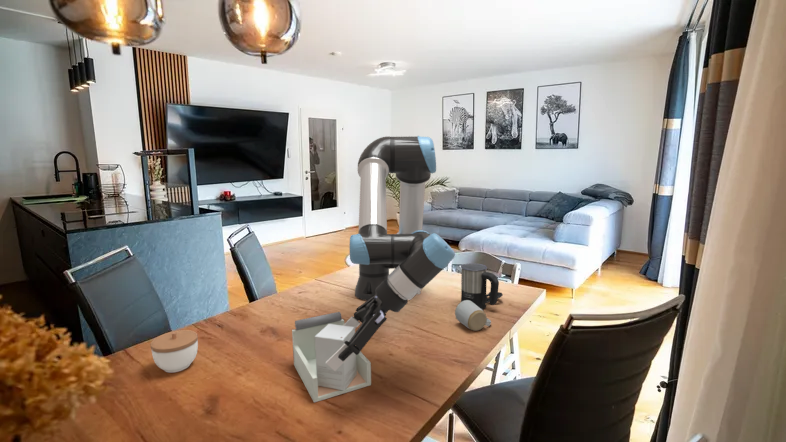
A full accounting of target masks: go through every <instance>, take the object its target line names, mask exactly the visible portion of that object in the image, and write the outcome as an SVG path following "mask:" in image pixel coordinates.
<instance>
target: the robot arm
mask: <svg viewBox="0 0 786 442" xmlns="http://www.w3.org/2000/svg"><path fill="white" fill-rule="evenodd" d="M436 172H437V158H436V150H435V143H434V141H433V139H432V138H431V137H429V136H420V135H417V136H381V137H379V138H376V139H375V140H373V141H372V142H370V143H369V144H368V145H367V146H366V147H365V148H364V149H363V151H362V152H361V154H360V156H359V158H358V162H357V174H358V176H359V177H360V181H359V183H360V185H359V189H360V190H359V207H358V209H359V210H358V212H359V213H358V233H356V234H351V235H350V237H349V259H350V262H351V263H352V264H355V265H358V266H359V269H358V278H357V281H356V285H355V288H354V295H355V297H356V298H357V299H359V300H362V301H365V302H363V303H362V304H360V306H358V307H357V308H355V312H354V313H353V315H351V316H350V317H349V319H348V320H346V321H345V322H344V325H343V326H350V327H355V334H354V335H353V337H352V338H351V339H350V341H349V342H348V341H345V342H344V343H345V344H344V345H343V346H342V347H341V348H340V349H339V350H338V351H337V352H336V353H335V354H334V355H333V356H332V357H331V358H329V359H328V360H327V361H326V364H327V365H328V366H329V367H331V368H332V369H333V370H334V371H336V370H337V369H338V368H339V367H340V366H341V365H342V364H343V363H344V362H345V361H346V360H347V359H348V358H349V357H350V356H351V355H352V354H353V353H355V354H356V355H358V354H359V353H360V351H361V352H362V350H363V349H364V347H365V346H366V345H367V343H368V342H369V341H370V340H371V339H372V338H373V336H374V335H375V334H376V332H377V331H378V330H379V329H380V327H381V326H382V325H383V324H385V322H386V321H387V319H388V318H387V317H386V316H387V313H388V311H392V312H394V313H399V312H400V311H401V310H402V309H403V308H404V307H405V306H406V305H407V304H408V303H409V302H408V301H410V300H412V299H413V298H414V297H415V296H416V295H420V294H421V293H422V289H424V288H425V287H426V286H427V285H428V284H429V283H430V282H431V281H432V280H433V279H434V278H436V276H438V275H439V274H440V273H441V271H443V270H444V269H446V268H447V267H448V265H449V264H450V263H451V262H452V260H453V259H454V258H455V257H456V256H455V255H456V252H455V251H454V249H453V248H452V247H451V246H450V245H449V244H448V243H447V242H446V241H445V240H444V238H443V237H441V236H440V235H439V234H437V233H436V232H435V233H434V232H433V233H430V232H428V231H426V230H423V223H424V211H425V210H424V209H425V208H424V207H425V194H426V183H427V182H429V181H430V180H431V174H435V173H436ZM389 174H395V177H396V179H397V181H399V213H398V215H399V216H398V217H399V219H398V221H399V222H398V225H399V226H398V231H397V233H388V222H387V221H388V218H387V213H388V212H387V187H386V186H387V183H386V182H387V180H386V179H387V177H388V175H389ZM391 269H393V270H392V271H391V272H390V270H391ZM356 329H357V330H356Z"/></svg>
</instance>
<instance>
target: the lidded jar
mask: <svg viewBox="0 0 786 442" xmlns="http://www.w3.org/2000/svg"><path fill="white" fill-rule="evenodd" d="M198 339H199V337H198V333H197V332H196V331H194V330H191V329H180V330H178V329H177V330H172V331H169V332H166V333H163V334H161V335H158V336H157V337H155V338H154V339H153V340H152V341H150V344H149V345H150V350H151V354H152V355H151V356H152V359H153V361H154V364H155V365H156V366H157V367H158V368H159V369H160V370H163V371H164V372H166V373H172V374H173V373H178V372H182V371H185V370H186V369H188V368H189V367H190V365H191V364H192V363H193V361H194V360H195V359H196V357H197V354H198V347H199V341H198Z"/></svg>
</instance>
